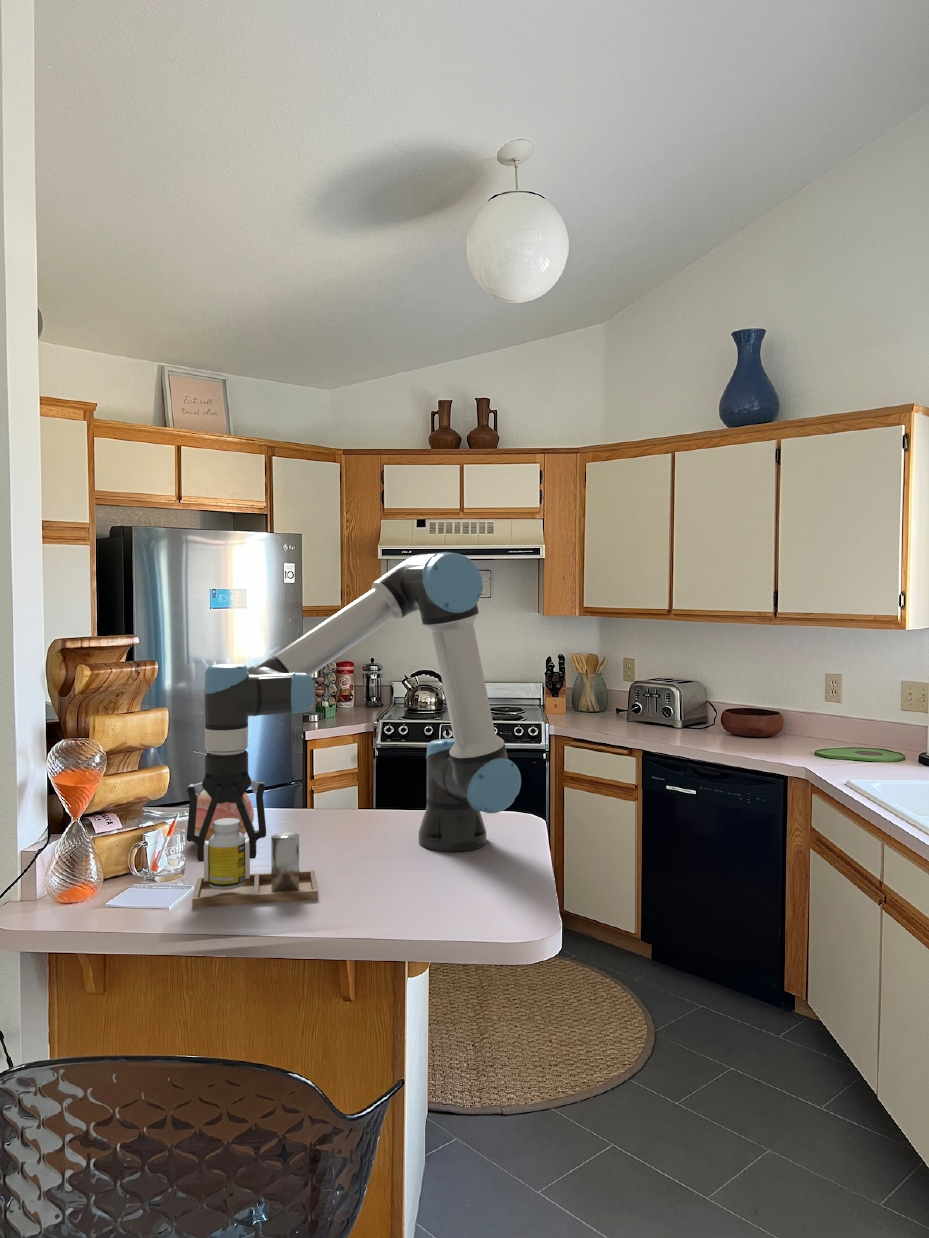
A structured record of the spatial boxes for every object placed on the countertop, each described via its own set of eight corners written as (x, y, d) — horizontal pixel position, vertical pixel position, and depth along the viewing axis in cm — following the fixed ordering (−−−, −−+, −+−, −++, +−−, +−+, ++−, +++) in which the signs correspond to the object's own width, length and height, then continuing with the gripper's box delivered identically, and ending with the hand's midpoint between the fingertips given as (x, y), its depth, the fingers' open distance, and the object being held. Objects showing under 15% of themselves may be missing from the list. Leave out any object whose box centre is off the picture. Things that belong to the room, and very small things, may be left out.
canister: (298, 884, 165) (298, 831, 165) (299, 893, 160) (299, 839, 160) (271, 886, 164) (271, 832, 164) (271, 895, 159) (271, 840, 159)
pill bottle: (235, 892, 156) (235, 827, 156) (202, 889, 158) (201, 825, 157) (251, 880, 163) (251, 817, 162) (219, 877, 164) (218, 815, 163)
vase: (220, 854, 187) (220, 771, 186) (176, 844, 194) (175, 764, 193) (266, 838, 198) (266, 760, 198) (223, 829, 206) (223, 753, 205)
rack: (314, 883, 169) (314, 869, 169) (317, 905, 158) (317, 890, 158) (197, 891, 165) (197, 877, 165) (192, 914, 153) (192, 899, 153)
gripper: (281, 745, 165) (281, 867, 166) (172, 748, 161) (173, 873, 162) (282, 752, 157) (282, 880, 158) (167, 756, 153) (168, 887, 154)
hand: (227, 877), depth 160 cm, fingers closed on pill bottle, 6 cm apart
